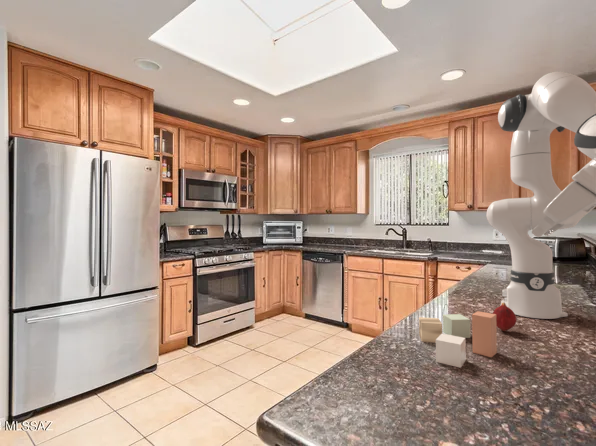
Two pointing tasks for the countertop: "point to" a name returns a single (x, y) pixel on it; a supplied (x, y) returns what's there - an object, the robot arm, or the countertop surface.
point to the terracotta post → (484, 333)
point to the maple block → (429, 329)
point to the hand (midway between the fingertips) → (539, 234)
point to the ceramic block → (450, 350)
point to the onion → (504, 317)
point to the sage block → (456, 325)
